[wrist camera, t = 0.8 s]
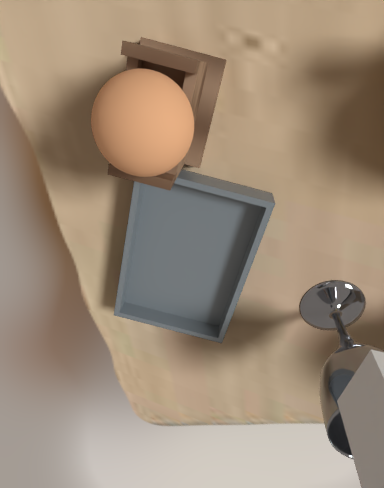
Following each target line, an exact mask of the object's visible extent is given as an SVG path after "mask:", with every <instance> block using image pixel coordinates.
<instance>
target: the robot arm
mask: <svg viewBox="0 0 384 488" xmlns="http://www.w3.org/2000/svg"><path fill="white" fill-rule="evenodd" d="M337 403H338V406H339V410H340V413H341V417H342V420H343V424H344V427H345V431H346V434H347V438H348V441H349V445H350V449H351V452H352V456H353V459H354V462H355V466H356V470H357V473H358V476H359V480H360V484H361V487H362V488H384V352H380V351H376V350H370V351H369V353H368V354H367V356H366V357H365V359H364V360H363V362H362V364H361V365H360V367H359V368H358V370H357V371H356V373H355V374H354V376H353V377H352V379H351V380H350V382H349V383H348V385H347V386H346V388H345V390H344V391H343V393H342V394H341V396H340V397H339V399H338V400H337Z"/></svg>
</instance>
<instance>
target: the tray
mask: <svg viewBox="0 0 384 488" xmlns="http://www.w3.org/2000/svg"><path fill="white" fill-rule="evenodd" d="M274 205H275V201H274V198H273V194H272V193H269V192H266V191H262V190H258V189H254V188H250V187H247V186H243V185H239V184H235V183H231V182H228V181H224V180H220V179H216V178H213V177H209V176H205V175H201V174H197V173H194V172H190V171H186V170H182V169H181V171H180V173H179V175H178V177H177V179H176V180H175V182H174V184H173V186H172V188H171V190H170V191H169V190H166V189H162V188H158V187H154V186H151V185H147V184H143V183H139V182H135V181H134V186H133V193H132V199H131V206H130V213H129V219H128V226H127V232H126V239H125V245H124V252H123V258H122V265H121V272H120V278H119V285H118V291H117V298H116V304H115V311H114V315H115V316H119V317H123V318H127V319H131V320H134V321H138V322H142V323H146V324H150V325H154V326H157V327H161V328H165V329H169V330H173V331H177V332H181V333H184V334H188V335H192V336H196V337H200V338H204V339H207V340H211V341H215V342H219V343H222V341H223V339H224V336H225V333H226V331H227V328H228V326H229V323H230V320H231V318H232V315H233V313H234V310H235V307H236V305H237V302H238V299H239V297H240V294H241V292H242V289H243V286H244V284H245V281H246V278H247V276H248V273H249V271H250V268H251V265H252V263H253V260H254V258H255V255H256V252H257V250H258V247H259V244H260V242H261V239H262V237H263V234H264V231H265V229H266V226H267V223H268V221H269V218H270V216H271V213H272V210H273V208H274Z"/></svg>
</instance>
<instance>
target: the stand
mask: <svg viewBox="0 0 384 488" xmlns="http://www.w3.org/2000/svg"><path fill="white" fill-rule="evenodd" d="M121 55H125V56H128V58H127V67H126V71H127V70H131V69H138V68H140V69H150V70H154V71H157V72H160V73H162V74H164V75H166V76H168V77H169V78H170V79H172V80H173V81H174V82H175V83H176V84H178V86H179V87H180V88H181V89H182V90H183V92H184V93H185V95H186V96H187V98H188V100H189V102H190V105H191V108H192V111H193V116H194V134H193V139H192V142H191V146H190V148H189V150H188V152H187V153H186V155H185V157H184V158H183V159H182V160H181V161H180V162H179V163H178V164H177V165H176V166H175V167H174V168H172V169H171V170H169V171H167V172H165V173H163V174H160V175H157V176H152V177H139V176H134V175H130V174H127V173H125V172H123V171H121V170H119V169H117V168H116V167H114V166H113V165H112V164H111V163H110V164H109V167H108V174H109V175H113V176H116V177H120V178H124V179H128V180H132V181H135V182H139V183H143V184H147V185H151V186H154V187H158V188H162V189H166V190H169V191H170V190H171V188H172V186H173V184H174V182H175V180H176V179H177V177H178V175H179V173H180V171H181V169H182V167H183V165H184V164H186V165H190V166H193V167H197V168H199V167H200V165H201V161H202V157H203V153H204V149H205V145H206V141H207V137H208V133H209V129H210V125H211V121H212V116H213V112H214V108H215V104H216V100H217V96H218V92H219V88H220V84H221V80H222V76H223V72H224V68H225V64H226V60H225V59H221V58H217V57H213V56H210V55H206V54H202V53H198V52H195V51H191V50H187V49H184V48H180V47H176V46H172V45H169V44H165V43H161V42H157V41H154V40H150V39H146V38H142V37H141V40H140V45H139V44H135V43H131V42H126V41H122V50H121Z"/></svg>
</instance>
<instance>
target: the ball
mask: <svg viewBox="0 0 384 488" xmlns="http://www.w3.org/2000/svg"><path fill="white" fill-rule="evenodd" d="M91 126H92V132H93V136H94V139H95V142H96V144H97V146H98V148H99V150H100V151H101V153H102V154H103V156H104V157H105V158H106V159H107V160H108V161H109V162H110V163H111V164H112V165H113V166H114V167H116V168H117V169H119V170H121V171H123V172H125V173H127V174H130V175H134V176H139V177H152V176H157V175H160V174H163V173H165V172H167V171H169V170H171V169H172V168H174V167H175V166H176V165H177V164H178V163H179V162H180V161H181V160H182V159H183V158H184V157H185V155H186V153H187V152H188V150H189V148H190V146H191V142H192V139H193V134H194V116H193V111H192V108H191V105H190V102H189V100H188V98H187V96H186V95H185V93H184V92H183V90H182V89H181V88H180V87H179V86H178V84H176V83H175V82H174V81H173V80H172V79H170V78H169V77H168V76H166V75H164V74H162V73H160V72H157V71H154V70H150V69H140V68H138V69H131V70H127V71H123V72H121V73H119V74H117V75H115V76H114V77H112V78H111V79H110V80H109V81H107V82H106V83H105V84H104V86H103V87H102V88H101V89H100V91H99V93H98V94H97V96H96V99H95V101H94V104H93V108H92V114H91Z"/></svg>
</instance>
